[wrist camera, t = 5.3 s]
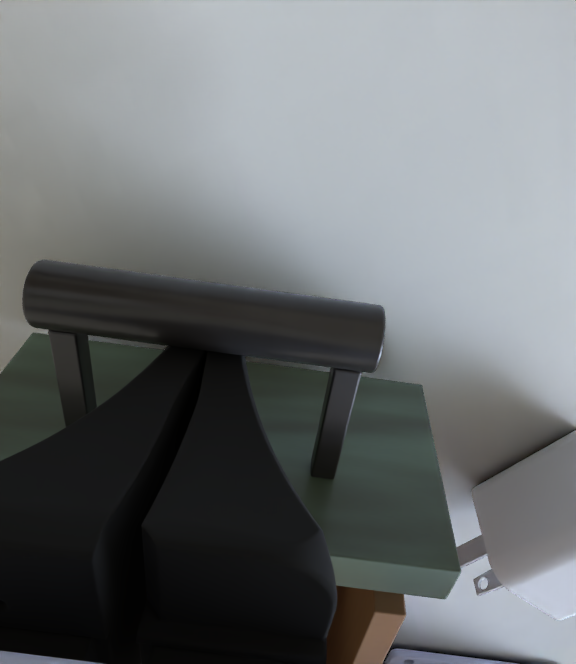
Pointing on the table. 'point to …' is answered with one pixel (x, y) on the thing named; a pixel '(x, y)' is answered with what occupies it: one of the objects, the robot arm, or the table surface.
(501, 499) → the usb wall charger
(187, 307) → the drawer
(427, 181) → the table surface
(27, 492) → the robot arm
